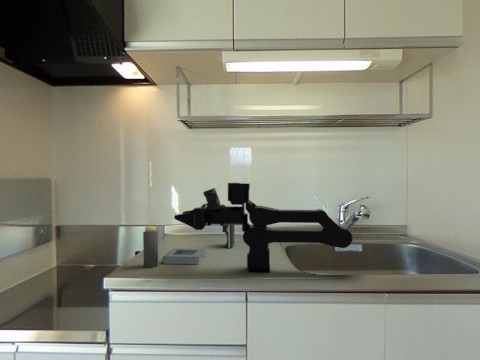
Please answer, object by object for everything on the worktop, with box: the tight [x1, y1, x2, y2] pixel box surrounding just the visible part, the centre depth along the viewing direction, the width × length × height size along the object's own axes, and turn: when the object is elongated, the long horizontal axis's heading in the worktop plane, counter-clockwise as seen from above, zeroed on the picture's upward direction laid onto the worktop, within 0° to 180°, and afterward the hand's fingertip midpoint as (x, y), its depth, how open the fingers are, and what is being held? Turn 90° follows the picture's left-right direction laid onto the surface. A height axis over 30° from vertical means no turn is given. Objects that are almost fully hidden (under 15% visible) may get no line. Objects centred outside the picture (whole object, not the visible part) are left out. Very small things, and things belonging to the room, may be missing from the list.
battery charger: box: [222, 225, 235, 249], centre depth 139 cm, size 7×4×11 cm, turn 170°
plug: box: [142, 226, 159, 269], centre depth 110 cm, size 4×4×12 cm
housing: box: [162, 247, 207, 266], centre depth 118 cm, size 12×12×2 cm
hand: (178, 215), depth 108 cm, fingers open, 9 cm apart
